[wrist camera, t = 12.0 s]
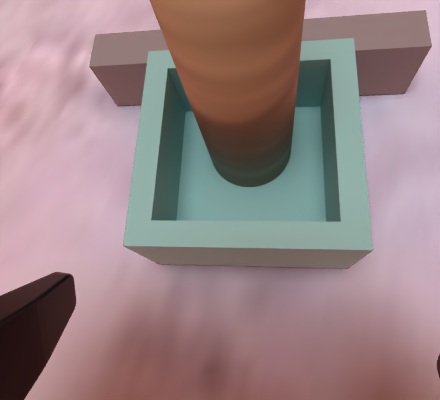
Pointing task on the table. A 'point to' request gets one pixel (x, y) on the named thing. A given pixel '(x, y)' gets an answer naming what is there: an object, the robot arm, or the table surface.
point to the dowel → (238, 78)
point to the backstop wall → (312, 30)
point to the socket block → (261, 195)
